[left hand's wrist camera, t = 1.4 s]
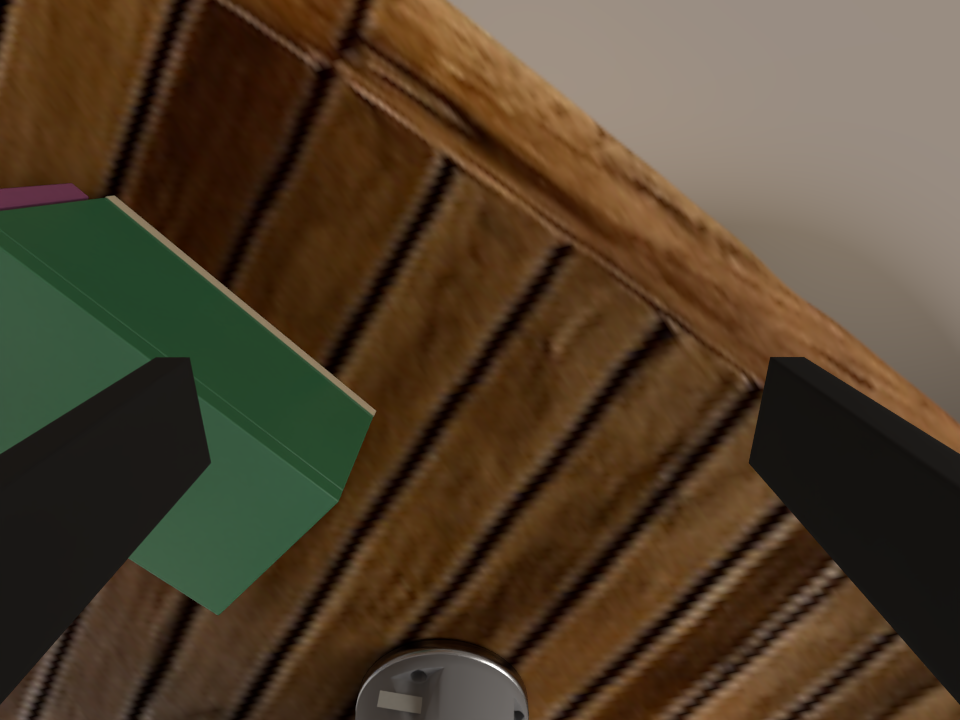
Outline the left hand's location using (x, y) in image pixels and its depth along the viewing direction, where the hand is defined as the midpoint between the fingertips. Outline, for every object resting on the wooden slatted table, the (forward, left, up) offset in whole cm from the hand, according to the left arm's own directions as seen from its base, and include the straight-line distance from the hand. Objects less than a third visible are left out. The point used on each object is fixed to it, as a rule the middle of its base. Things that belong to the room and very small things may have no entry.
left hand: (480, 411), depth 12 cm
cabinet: (-17, +12, -23) cm, 31 cm away
